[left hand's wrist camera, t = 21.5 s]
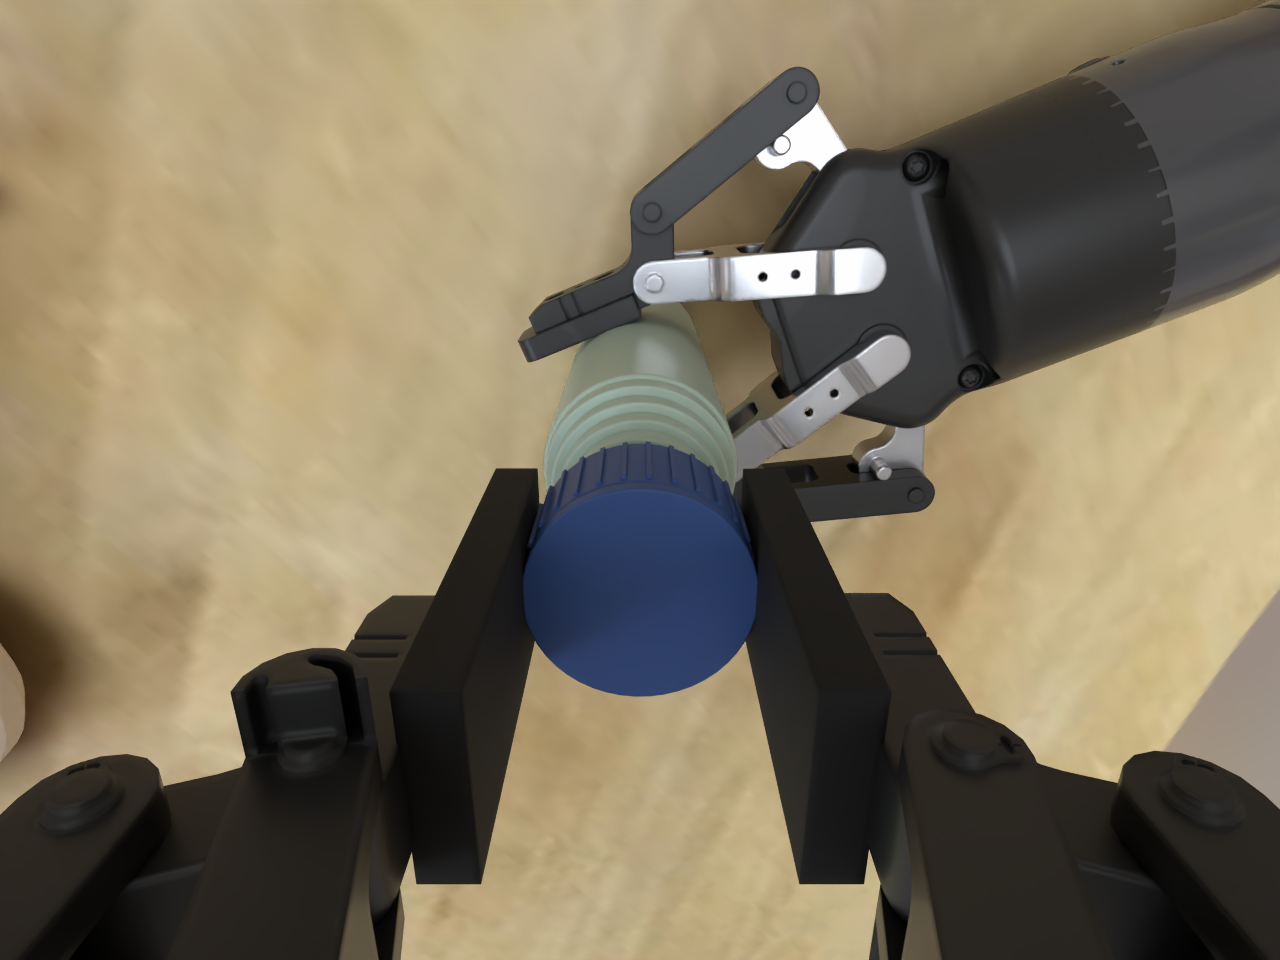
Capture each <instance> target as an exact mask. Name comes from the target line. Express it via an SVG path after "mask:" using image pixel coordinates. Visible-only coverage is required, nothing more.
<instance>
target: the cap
mask: <svg viewBox="0 0 1280 960" xmlns="http://www.w3.org/2000/svg"><path fill="white" fill-rule="evenodd" d="M750 541H751V539H750V536H749V532H748V529H747V526H746V522H745V519H744V515H743V512H742V509H741V505H740V502H739V500H738V498H736V499H734V497H733V495H732V493H731V491H730V487H729V484H728V482H727V481H726V480H725V481H724V482H723V481H722V479H721V478H720V477H719V476H718V475H717V474H716V473H715V472H714V468H713V467H712V466H711V465H709V467H708V466H707V465H705V464H704V463H702V462H701V461H700V460H698V459H696V458H695V455H694V454H692V453H691V454H690V455H689V454H687V453H684V452H682V451H679V450H676V449H674V446H672V445H669V447H665V446H661V445H654V444H651V442H648V441H646V444H628V442H623V445H619V446H615V447H611V448H607V449H605V447H602V448H600V451H599V452H596V453H594V454H592V455H590V456H588V457H586V458H585V457H584V456H583V457H581V458H580V459H579V462H578V463H576V464H575V465H574V466H573V467H571V468H570V469H569V470H568V471H567V470H566V469H565V470H564V471H562V475H561V478H560V479H559V480H558V481H557V482H556V484H555V485H554V486H551V485H550V487H549V488H548V491H547V495H546V498H545V502H544V504H541V503H540V505H539V508H538V512H537V515H536V518H535V522H534V525H533V528H532V532H531V535H530V538H529V542H528V545H527V547H529V548H530V550H529V554H528V558H527V561H526V564H525V568H524V573H523V591H524V607H525V619H526V622H527V625H528V627H529V630H530V632H531V634H532V636H533V638H534V639H535V641H536V643H537V645H538V646H539V647H540V649H541V650H542V651H543V653H544V654H545V655H546V656H547V657H548V658H549V659H550V660H551V661H552V662H553V663H554V664H555V665H556V666H557V667H558V668H559V669H561V670H562V671H563V672H565V673H566V674H567V675H569V676H570V677H572V678H574V679H575V680H577V681H579V682H581V683H583V684H585V685H587V686H590V687H592V688H595V689H598V690H601V691H604V692H608V693H613V694H617V695H625V696H656V695H664V694H668V693H672V692H677V691H680V690H683V689H686V688H688V687H691V686H693V685H695V684H697V683H699V682H701V681H704V680H705V679H707V678H708V677H710V676H712V675H713V674H715V673H716V672H717V671H719V670H720V669H721V668H722V667H723V666H725V665H726V664H727V663H728V662H729V661H730V660H731V659H732V658H733V657H734V656H735V654H736V653H737V652H738V651H739V649H740V648H741V646H742V645H743V644H744V642H745V641H746V639H747V637H748V635H749V633H750V631H751V629H752V626H753V623H754V621H755V614H756V599H757V582H758V574H757V571H756V567H755V563H754V555H753V552H752V548H751V545H750Z"/></svg>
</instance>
